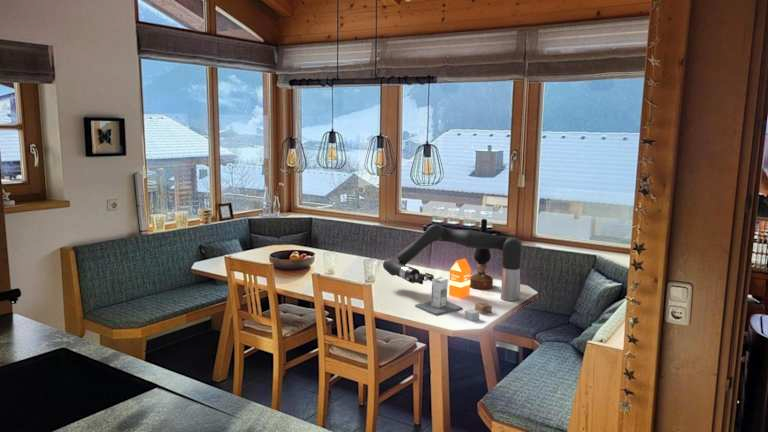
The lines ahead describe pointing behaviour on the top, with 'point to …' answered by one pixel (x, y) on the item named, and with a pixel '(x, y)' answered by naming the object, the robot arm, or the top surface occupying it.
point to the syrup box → (439, 292)
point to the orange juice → (460, 279)
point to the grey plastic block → (471, 315)
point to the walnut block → (483, 308)
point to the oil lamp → (482, 266)
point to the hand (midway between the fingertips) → (428, 281)
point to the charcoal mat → (437, 311)
